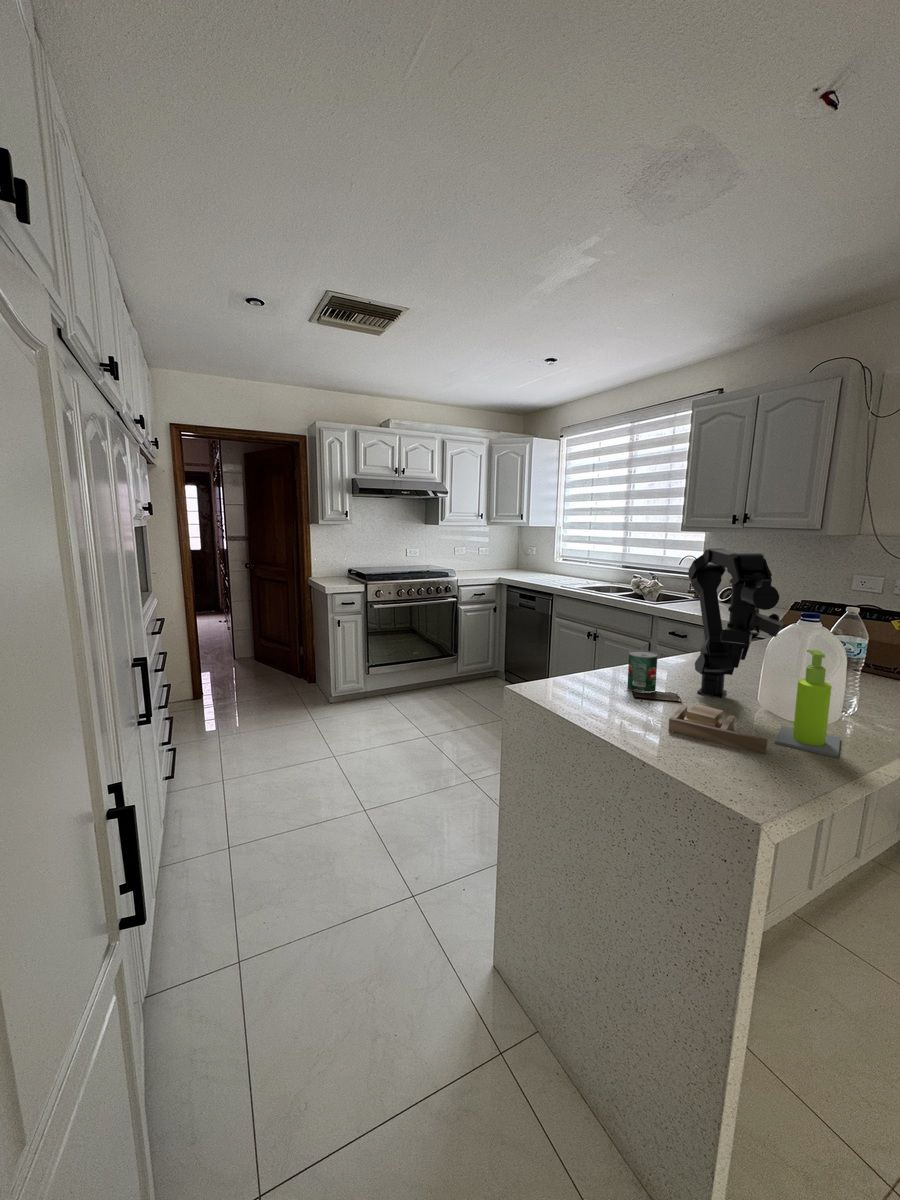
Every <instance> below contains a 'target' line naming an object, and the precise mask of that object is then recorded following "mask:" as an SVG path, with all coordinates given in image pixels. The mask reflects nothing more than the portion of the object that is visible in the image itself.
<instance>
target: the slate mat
mask: <svg viewBox="0 0 900 1200" xmlns="http://www.w3.org/2000/svg"><path fill="white" fill-rule="evenodd" d="M793 728H794V727H792V726H786V725H781V726H780V729H779V731H778V733H777V735H776V738H775V743H774V744H776V745H779V746H784V747H789V748H794V749H798V750H802V751H806V752H810V753H816V754H818V755H823V756H827V757H831V758H837V759H839V754H840V744H841V737H839V736H835V735H829V734H826V742H825V744H824V745H819V746H817V745H809V744H805V743H801V742H799V741H797V740H795V739H794V738H793Z"/></svg>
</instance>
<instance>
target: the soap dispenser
mask: <svg viewBox="0 0 900 1200" xmlns="http://www.w3.org/2000/svg"><path fill="white" fill-rule="evenodd" d="M806 652H807V653H809V654H811V655H812V657H811V659H812V660H811V664H809V665H807V666H806V669H805V670H806V671H805V678H803V679H798V681H797V690H796V697H795V698H796V701H795V707H794V708H795V709H794V719H793V720H794V721H793V727H792V728H793V738H794V739H795V740H797V741H799V742H801V743H805V744H809V745H817V746H819V745H824V744H825V742H826V735H827V732H828V723H829V711H830V702H831V695H832V684H831V683H828V682H826V671H827V669H826V668H825V667H824V666H823V665H822V662H823V659H825V657H826V655H825V653H823V652H822V651H821V650H819V649H818V650H817V649H806Z"/></svg>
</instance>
